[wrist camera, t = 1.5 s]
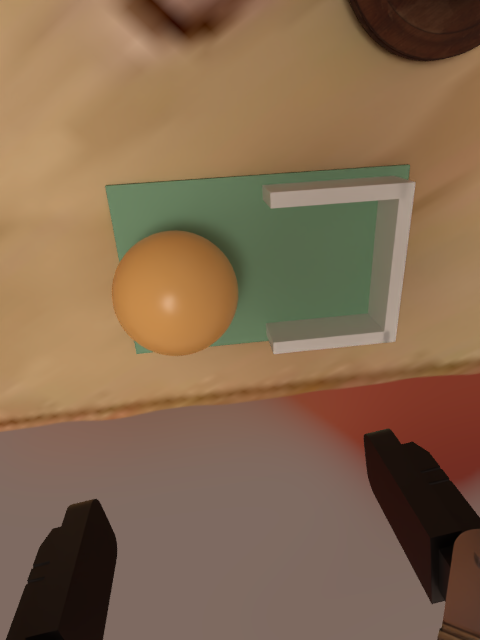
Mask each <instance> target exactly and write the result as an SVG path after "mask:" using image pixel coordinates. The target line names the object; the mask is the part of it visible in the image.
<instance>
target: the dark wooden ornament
mask: <svg viewBox="0 0 480 640" xmlns="http://www.w3.org/2000/svg"><path fill="white" fill-rule="evenodd" d="M350 3H351V6H352V8H353V10H354V12H355V14H356V16H357V18H358V20H359V21H360V23H361V24H362V26H363V27H364V29H365V30H366V31H367V32H368V34H369V35H370V36H371V37H372V38H373V39H374V40H375V41H376V42H377V43H378V44H380V45H381V46H382V47H384V48H385V49H387V50H388V51H390V52H392V53H394V54H396V55H398V56H401V57H404V58H407V59H412V60H418V61H433V60H440V59H445V58H449V57H453V56H456V55H460V54H462V53H465V52H467V51H469V50H471V49H473V48H475V47H477V46H479V45H480V0H350Z"/></svg>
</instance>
